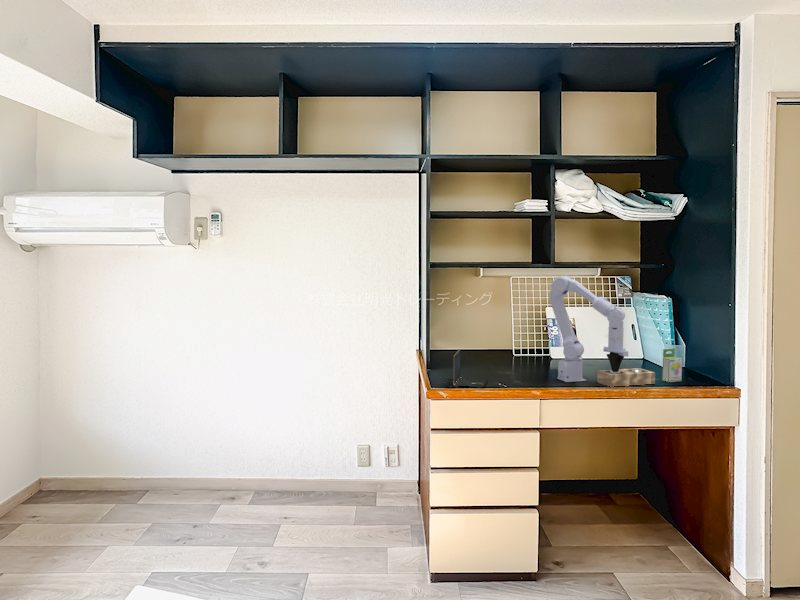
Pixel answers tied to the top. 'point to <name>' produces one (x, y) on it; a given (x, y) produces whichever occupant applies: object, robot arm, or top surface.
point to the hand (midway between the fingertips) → (615, 371)
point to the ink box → (671, 367)
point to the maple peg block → (625, 377)
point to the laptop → (456, 366)
